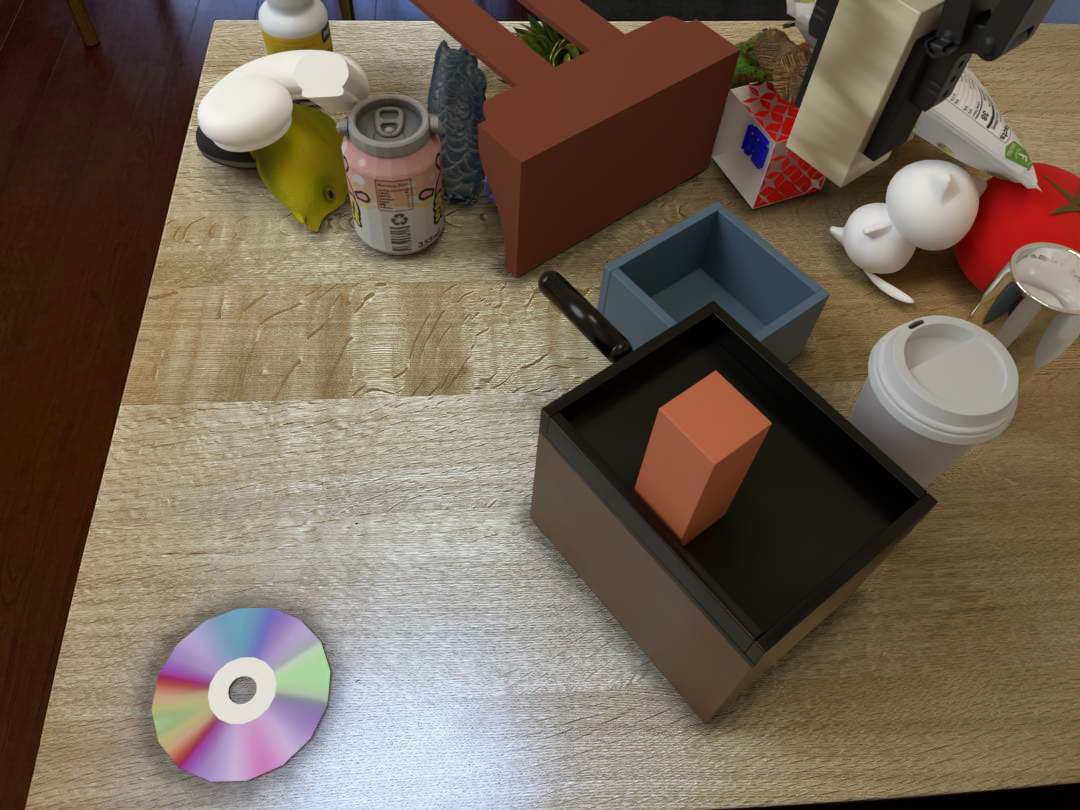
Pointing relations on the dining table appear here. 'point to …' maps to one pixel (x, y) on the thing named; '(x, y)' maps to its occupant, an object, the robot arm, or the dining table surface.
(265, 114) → the sculpture
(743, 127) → the red white patterned box
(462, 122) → the fish model
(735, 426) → the terracotta block
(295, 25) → the pill bottle
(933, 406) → the coffee cup
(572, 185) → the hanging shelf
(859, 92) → the cream block
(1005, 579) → the dining table surface
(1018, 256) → the metal tumbler
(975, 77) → the frozen beans
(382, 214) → the beverage can
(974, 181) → the cat figurine
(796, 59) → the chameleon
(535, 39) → the potted plant
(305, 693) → the cd
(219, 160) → the computer mouse
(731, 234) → the bin
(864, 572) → the pan
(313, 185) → the fish
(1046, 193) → the tomato
